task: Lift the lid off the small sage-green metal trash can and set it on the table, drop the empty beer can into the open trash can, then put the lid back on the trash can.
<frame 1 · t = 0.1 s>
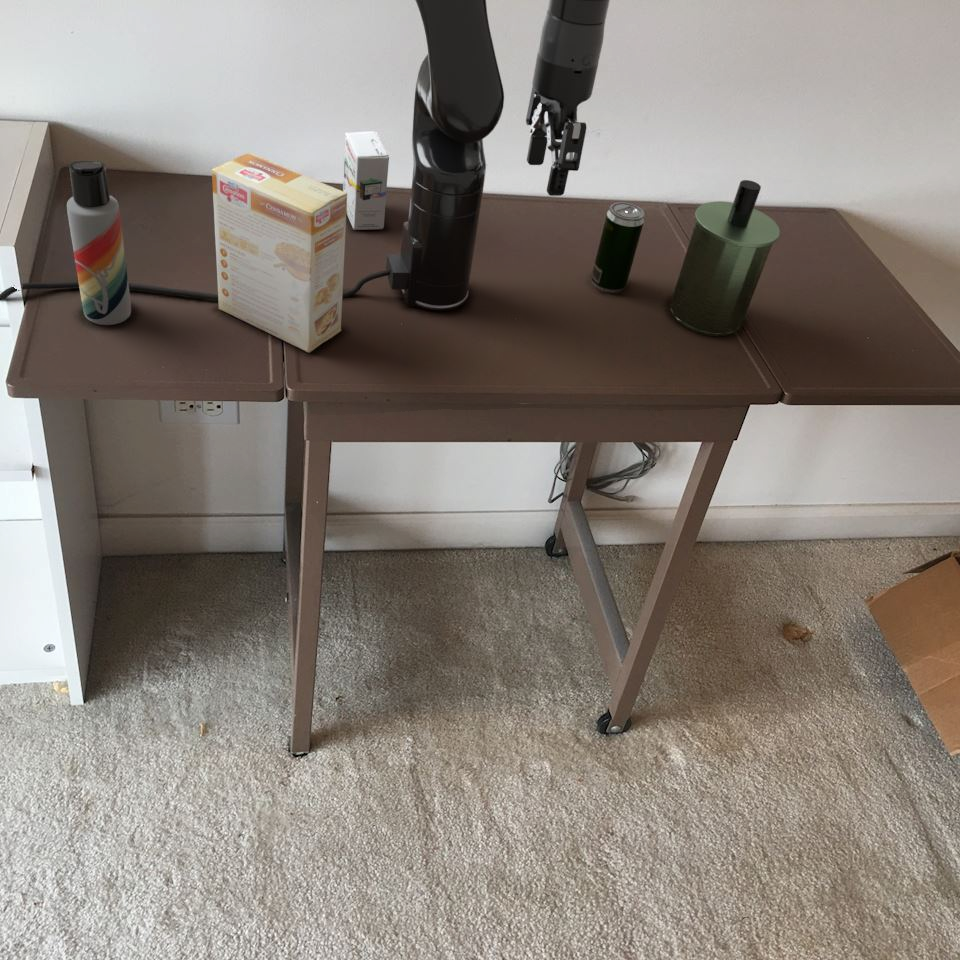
hand: (544, 178, 129), 17 cm above the table, tool pointing down, fingers open, 8 cm apart
trash can: (705, 315, 143), on the table
bin lid: (736, 225, 133), point 14 cm above the table, touching trash can
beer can: (607, 285, 145), on the table
coffeecake box: (279, 321, 127), on the table
ink box: (362, 217, 150), on the table
lotion bottle: (108, 314, 123), on the table
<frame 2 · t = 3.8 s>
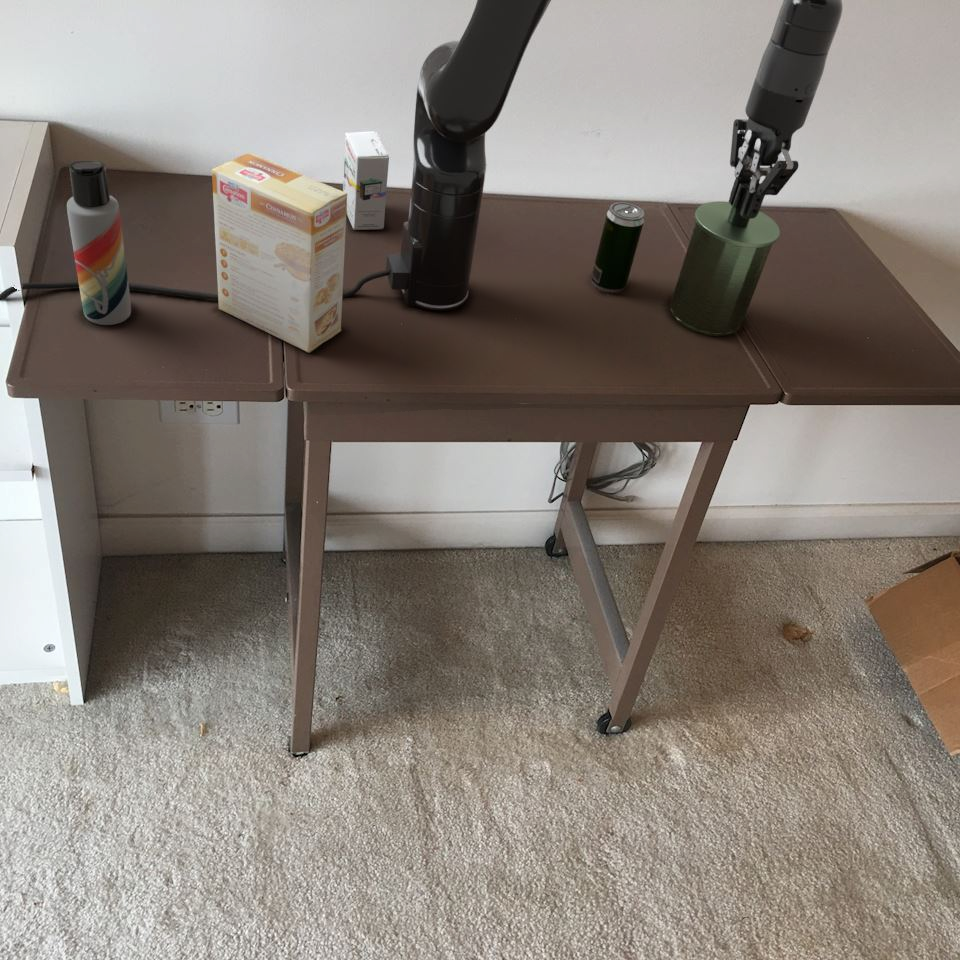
hand: (741, 210, 131), 17 cm above the table, tool pointing down, fingers closed on bin lid, 3 cm apart
bin lid: (736, 225, 133), point 15 cm above the table, touching gripper, trash can
everything else where it was.
when the fingers open (3 cm above the table, at t = 10.3 s): bin lid stays where it is, point 1 cm above the table.
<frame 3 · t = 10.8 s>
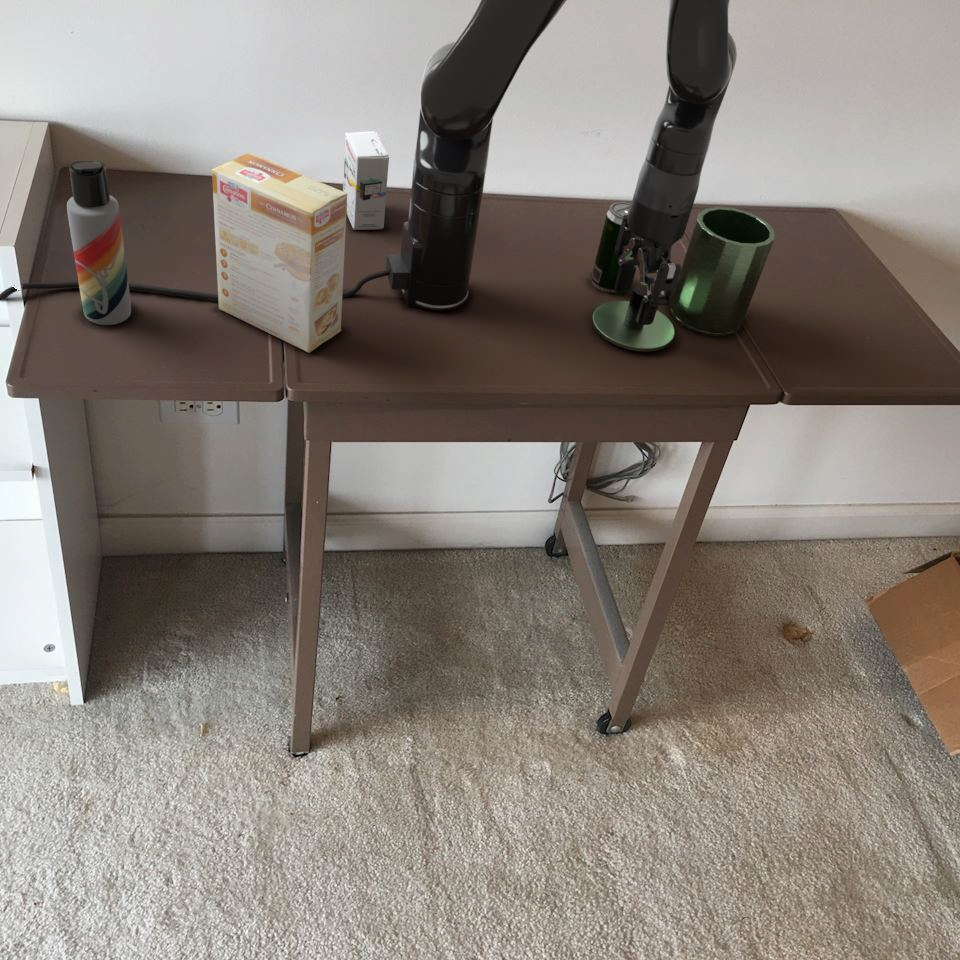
hand: (632, 306, 134), 4 cm above the table, tool pointing down, fingers open, 7 cm apart
bin lid: (632, 327, 136), point 1 cm above the table
everything else where it was.
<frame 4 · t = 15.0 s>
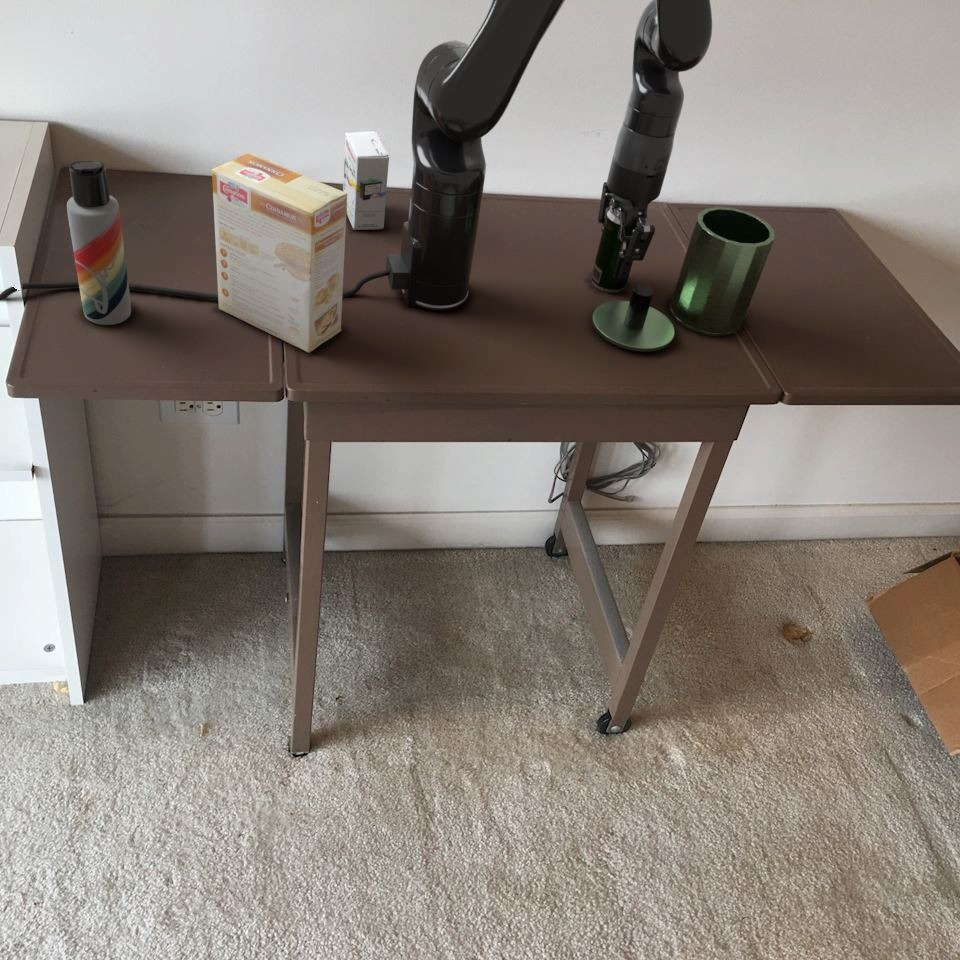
hand: (612, 267, 143), 3 cm above the table, tool pointing down, fingers closed on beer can, 5 cm apart
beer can: (607, 285, 145), on the table, touching gripper
everything else where it was.
when the fingers open (15 cm above the table, at t = 22.2 s): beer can drops 11 cm, resting on trash can.
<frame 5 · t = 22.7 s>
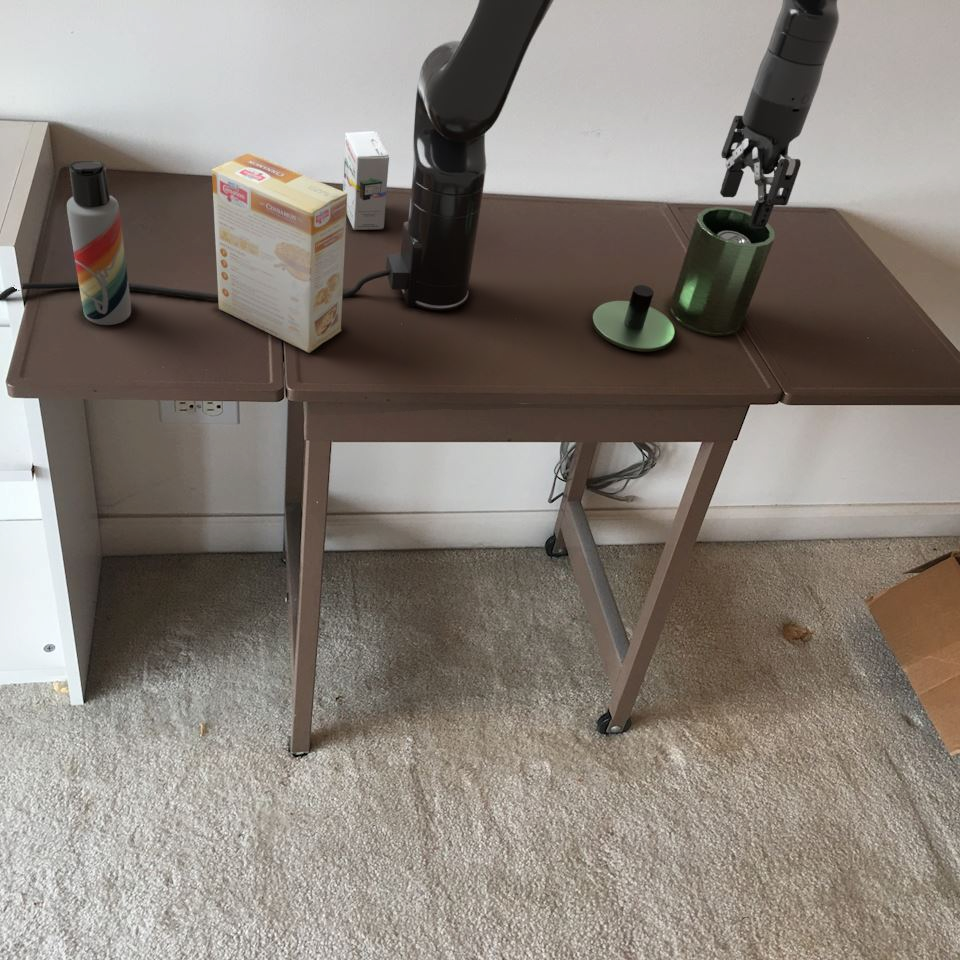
hand: (741, 211, 131), 17 cm above the table, tool pointing down, fingers open, 8 cm apart
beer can: (705, 311, 142), point 1 cm above the table, touching trash can
everything else where it was.
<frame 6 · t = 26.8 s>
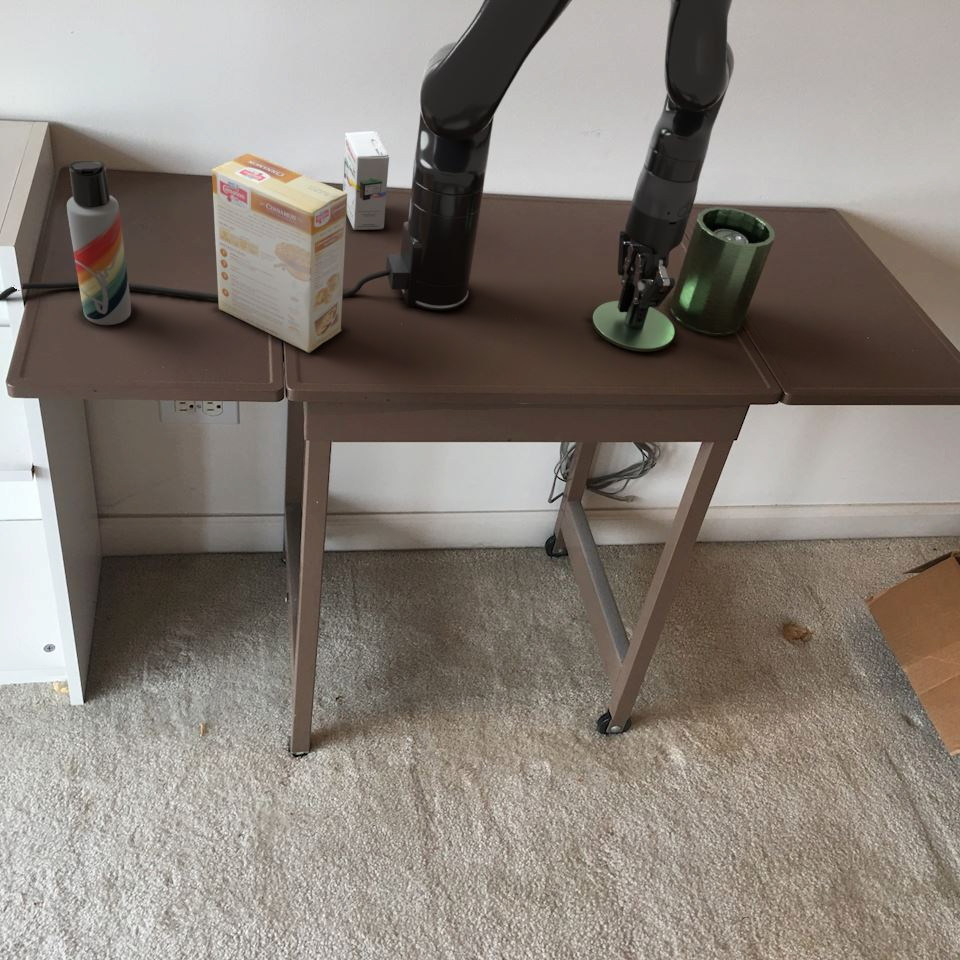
hand: (629, 317, 135), 2 cm above the table, tool pointing down, fingers closed on bin lid, 3 cm apart
bin lid: (632, 327, 136), point 1 cm above the table, touching gripper
when the fingers open (17 cm above the table, at t = 32.8 s): bin lid stays where it is, resting on trash can.
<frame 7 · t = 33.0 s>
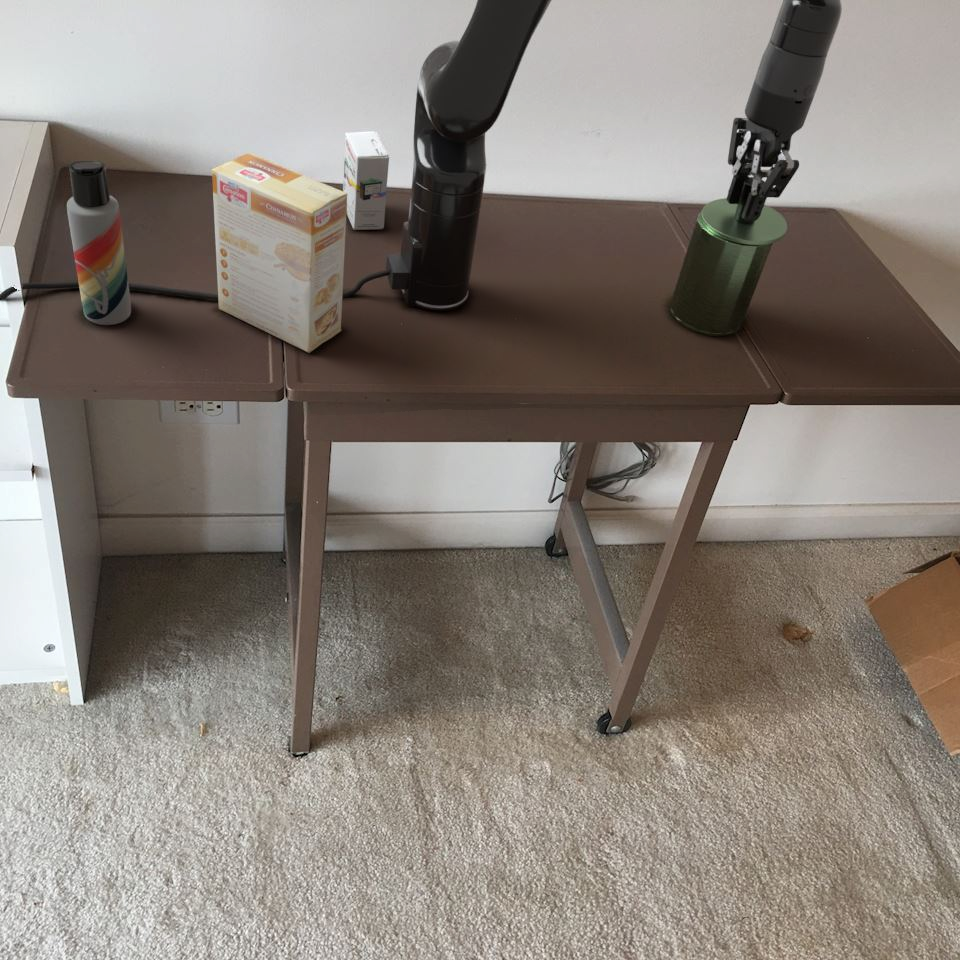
hand: (741, 210, 131), 17 cm above the table, tool pointing down, fingers open, 4 cm apart
bin lid: (743, 222, 133), point 15 cm above the table, touching trash can
everything else where it was.
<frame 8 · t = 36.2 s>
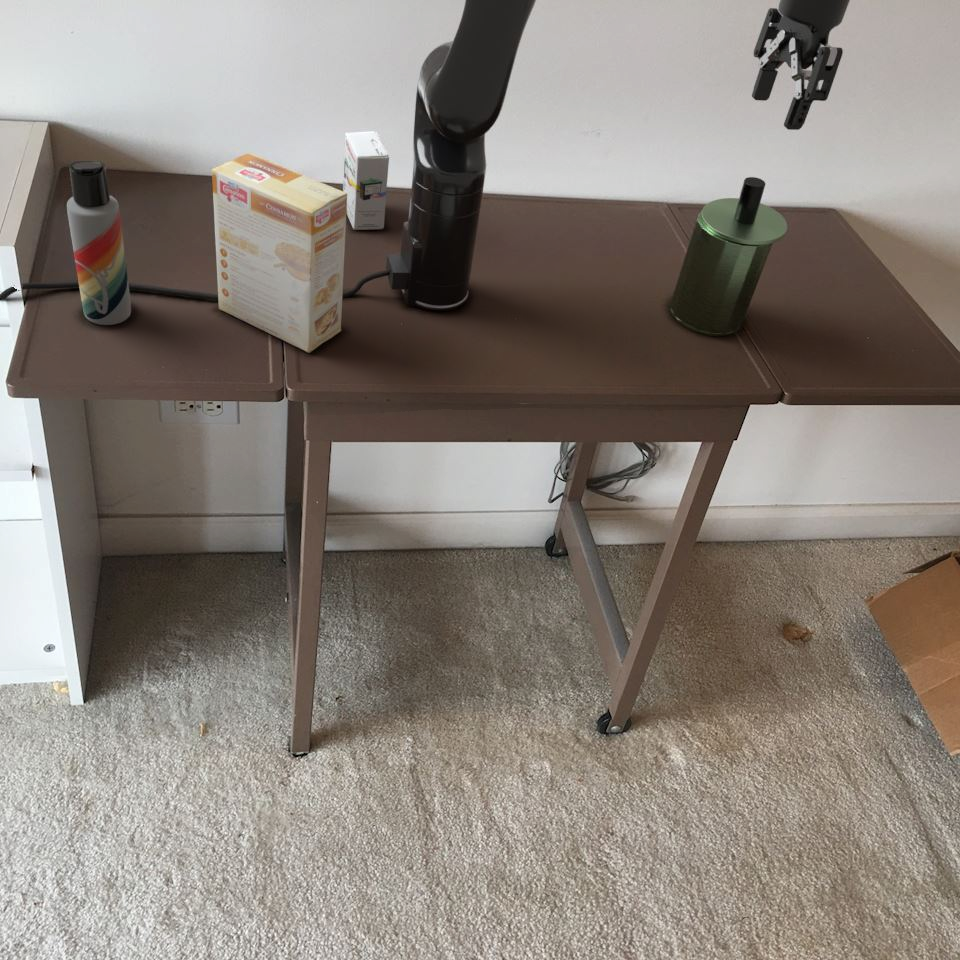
hand: (775, 113, 122), 30 cm above the table, tool pointing down, fingers open, 8 cm apart
nothing on the table moved.
at the end: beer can inside the target area in the trash can (0.2 cm from its centre), point 0.3 cm above the trash can's base; bin lid 1.0 cm off-centre on the trash can, point 14.9 cm above the trash can's base; bin lid tilted 4° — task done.
